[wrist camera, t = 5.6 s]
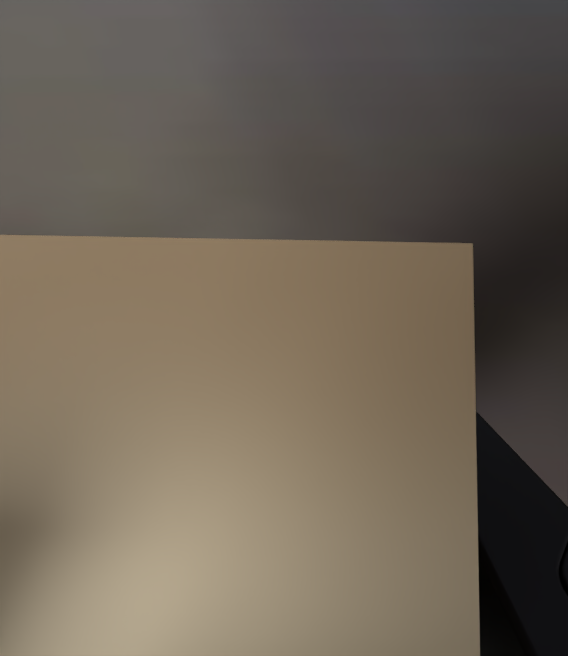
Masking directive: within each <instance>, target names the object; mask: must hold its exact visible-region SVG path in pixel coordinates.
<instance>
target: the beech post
mask: <svg viewBox="0 0 568 656" xmlns="http://www.w3.org/2000/svg"><path fill="white" fill-rule="evenodd" d="M0 656H480V621H479V565H478V508H477V451H476V395H475V338H474V281H473V243H426V242H370V241H315V240H259V239H204V238H148V237H92V236H37V235H0Z"/></svg>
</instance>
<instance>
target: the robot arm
mask: <svg viewBox="0 0 568 656" xmlns="http://www.w3.org/2000/svg"><path fill="white" fill-rule="evenodd" d="M476 451H477V508H478V565H479V621H480V656H568V507H567V506H566V505H565V504H564V502H563V501H562V500H561V499H560V498H559V497H558V496H557V495H556V494H555V493H554V492H553V491H552V490H551V489H550V488H549V487H548V486H547V485H546V484H545V483H544V482H543V481H542V480H541V478H540V477H539V476H538V475H537V474H536V473H535V472H534V471H533V470H532V469H531V468H530V467H529V466H528V465H527V464H526V463H525V462H524V461H523V460H522V459H521V458H520V457H519V456H518V454H517V453H516V452H515V451H514V450H513V449H512V448H511V447H510V446H509V445H508V444H507V443H506V442H505V441H504V440H503V439H502V438H501V437H500V436H499V435H498V434H497V433H496V432H495V430H494V429H493V428H492V427H491V426H490V425H489V424H488V423H487V422H486V421H485V420H484V419H483V418H482V417H481V416H480V415H479V414H478V413H477V412H476Z"/></svg>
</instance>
